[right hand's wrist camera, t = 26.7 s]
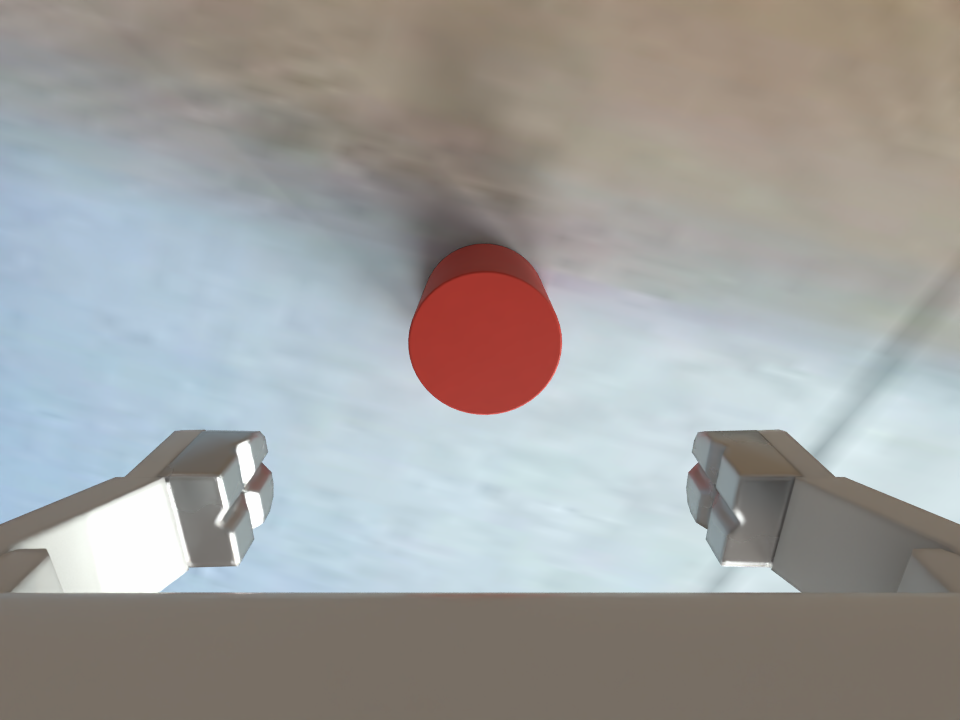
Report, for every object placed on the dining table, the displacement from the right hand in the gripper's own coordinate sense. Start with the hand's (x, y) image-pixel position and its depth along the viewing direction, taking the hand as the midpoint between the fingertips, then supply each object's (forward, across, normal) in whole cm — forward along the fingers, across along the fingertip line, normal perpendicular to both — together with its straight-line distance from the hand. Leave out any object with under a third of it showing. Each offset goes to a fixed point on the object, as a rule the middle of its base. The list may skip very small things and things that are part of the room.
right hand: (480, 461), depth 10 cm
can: (+11, 0, 0) cm, 11 cm away
